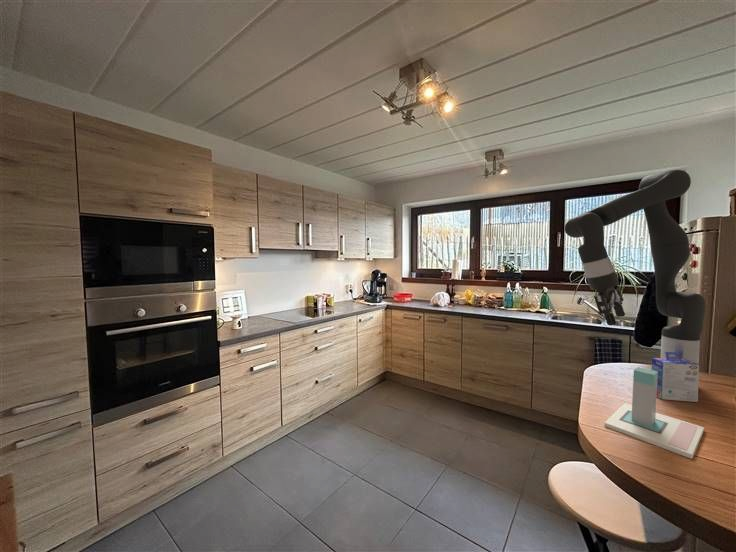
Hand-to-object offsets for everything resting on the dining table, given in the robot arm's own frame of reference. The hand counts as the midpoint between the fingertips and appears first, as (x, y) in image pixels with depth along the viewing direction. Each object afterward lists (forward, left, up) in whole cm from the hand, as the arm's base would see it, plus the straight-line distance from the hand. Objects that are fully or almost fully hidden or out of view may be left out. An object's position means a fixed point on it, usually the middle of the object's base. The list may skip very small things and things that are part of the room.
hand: (616, 320), depth 95 cm
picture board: (+15, +12, -25) cm, 32 cm away
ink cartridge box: (-14, +12, -25) cm, 31 cm away
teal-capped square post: (+15, +10, -24) cm, 30 cm away
